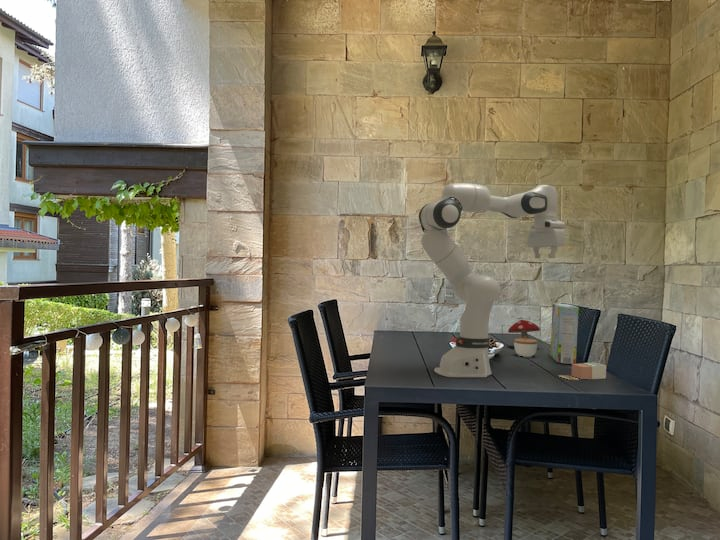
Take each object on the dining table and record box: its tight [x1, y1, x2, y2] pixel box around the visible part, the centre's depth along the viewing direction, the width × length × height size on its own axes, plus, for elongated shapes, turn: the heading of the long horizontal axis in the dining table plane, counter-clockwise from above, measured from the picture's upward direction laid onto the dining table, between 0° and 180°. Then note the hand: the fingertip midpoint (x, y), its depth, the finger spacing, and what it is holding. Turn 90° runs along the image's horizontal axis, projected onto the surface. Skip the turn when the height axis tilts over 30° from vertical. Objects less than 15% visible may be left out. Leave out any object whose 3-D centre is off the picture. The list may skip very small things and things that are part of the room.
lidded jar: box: [513, 337, 538, 358], centre depth 246 cm, size 11×11×9 cm
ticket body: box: [580, 362, 607, 380], centre depth 202 cm, size 6×6×5 cm
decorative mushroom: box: [507, 319, 541, 339], centre depth 270 cm, size 16×16×15 cm
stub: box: [570, 363, 592, 380], centre depth 201 cm, size 4×6×5 cm, turn 16°
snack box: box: [550, 303, 580, 365], centre depth 238 cm, size 22×9×26 cm, turn 168°
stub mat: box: [558, 374, 580, 381], centre depth 199 cm, size 4×7×1 cm, turn 16°
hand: (544, 258), depth 213 cm, fingers open, 8 cm apart
